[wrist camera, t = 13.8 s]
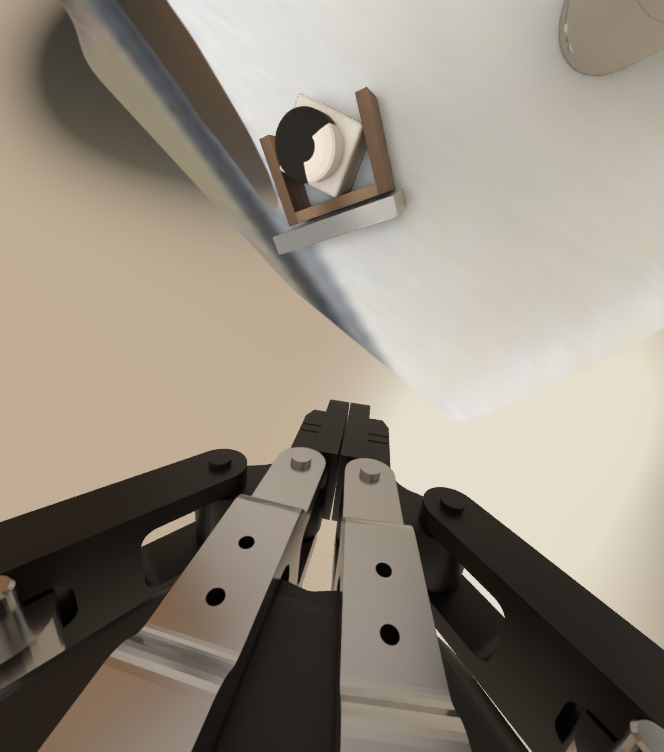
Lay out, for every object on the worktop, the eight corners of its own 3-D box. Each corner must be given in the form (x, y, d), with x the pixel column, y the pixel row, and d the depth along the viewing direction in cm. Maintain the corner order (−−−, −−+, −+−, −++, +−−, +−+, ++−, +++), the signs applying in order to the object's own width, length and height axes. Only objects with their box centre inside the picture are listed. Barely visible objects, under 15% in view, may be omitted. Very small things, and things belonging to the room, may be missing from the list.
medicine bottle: (299, 168, 43) (258, 170, 33) (318, 101, 39) (278, 81, 29) (349, 193, 43) (322, 203, 33) (373, 129, 39) (351, 118, 29)
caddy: (376, 96, 37) (366, 86, 32) (395, 187, 41) (389, 191, 36) (280, 142, 42) (259, 139, 37) (305, 219, 46) (289, 226, 41)
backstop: (402, 188, 41) (393, 195, 33) (405, 206, 42) (397, 216, 34) (301, 224, 46) (272, 237, 38) (306, 239, 47) (279, 254, 39)
